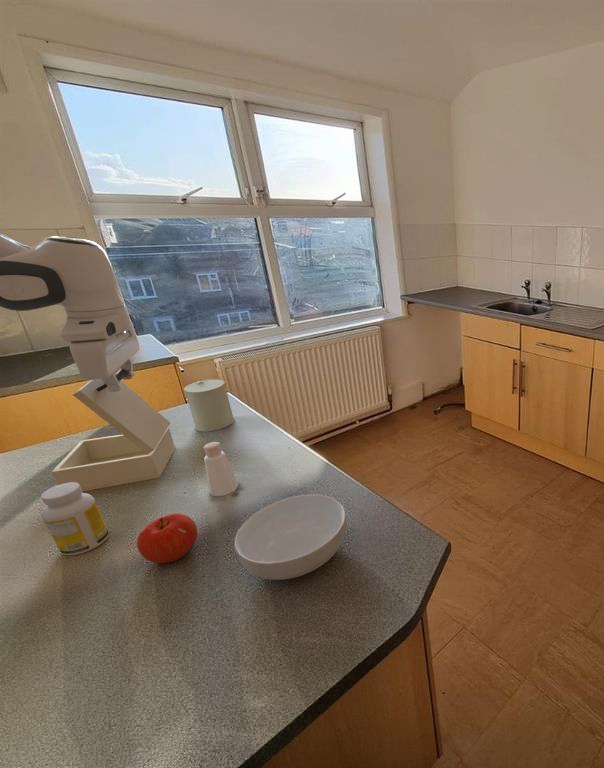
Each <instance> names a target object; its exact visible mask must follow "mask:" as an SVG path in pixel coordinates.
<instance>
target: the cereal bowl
mask: <svg viewBox="0 0 604 768" xmlns="http://www.w3.org/2000/svg"><path fill="white" fill-rule="evenodd" d="M347 522H348V521H347V514H346V509H345V507H344V506H343V505H342V503H341V502H339V501H338V500H337V499H335V498H333V497H330V496H328V495H323V494H302V495H295V496H290V497H286V498H283V499H281V500H277V501H275V502H273V503H271V504H269V505H266V506H265V507H263V508H260V509H259V510H258V511H256V512H255V513H254V514H252V515H251V516H250V517H248V519H246V521H245V522H243V524H242V525H241V526H240V528H239V529H238V530H237V532H236V535H235V539H234V550H235V553H236V556H237V559H238V560H239V563H240V564H241V566H242V567H243V568H244V569H245V570H246V571H247V572H248V573H250V574H251V575H254V576H255V577H258V578H261V579H264V580H271V581H284V580H291V579H295V578H299V577H302V576H304V575H307V574H310V573H312V572H313V571H315V570H317V569H319V568H320V567H321V566H324V564H326V563H327V562H328V561H330V560H331V558H333V557H334V555H336V553H337V552H338V550H339V549H340V547H341V545H342V544H343V542H344V539H345V536H346V533H347V532H346V531H347V526H348V525H347Z"/></svg>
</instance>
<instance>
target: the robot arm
mask: <svg viewBox="0 0 604 768" xmlns="http://www.w3.org/2000/svg"><path fill="white" fill-rule="evenodd" d="M111 263H112V262H111V261H110V259H109V257H108V255H107V253H106V251H105V249H103V247H102V246H101V245H100V244H98V243H97V242H95V241H92V240H89V239H86V238H81V237H75V236H74V237H73V236H61V235H60V236H58V235H57V236H56V235H54V236H48V237H45V238H44V239H43V240H42V241H41V242H38V244H36V245H33V246H29V245H26V244H23V243H21V242H19V241H16V240H14V239H12V238H10V237H9V236H7V235H5V234H2V233H1V232H0V308H3V309H6V310H10V311H16V312H32V311H37V310H41V309H43V308H48V307H51V306H62V307H63V308H64V311H65V314H66V316H67V317H65V318H66V319H65V323H64V326H63V327H62V329H61V331H60V334H61V337H62V340H63V342H66V343H69V351H70V353H71V356H72V358H73V361H74V363H75V366H76V368H77V369H78V371H79V373H80V375H81V376H82V377H83V378H84V379H85V380H87V381H89V380H96V379H101V380H102V381H103V382H104V383H105V384H106V385H107V387H108V389H109V391H110V392H118V391H120V390H121V389H122V385H121V382H120V381H118V380H117V378H116V372H117V371H118V370H120V369H125V370H126V371H127V375H126V376H125V377H124V378H123V379H122V380H125V381H126V380H131V379H133V378H134V377H135V373H134V369H133V365H134V363H133V362H134V361H133V358H132V357H134V356H135V354H137V353H138V352H139V351H140V342H139V339H138V337H137V333H136V331H135V329H134V328H133V325H132V323H131V320H130V317H129V313H128V311H127V307H126V305H125V301H124V299H122V297H121V296H120V294H119V290H118V285H119V283H118V280H117V277H116V273H115V270H114V268H113V265H112V264H111Z"/></svg>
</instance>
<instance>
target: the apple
mask: <svg viewBox="0 0 604 768" xmlns="http://www.w3.org/2000/svg"><path fill="white" fill-rule="evenodd" d="M197 538H198V527H197V525H196V522H195V521H194V520H193V519H192V518H191V517H190V516H189V515H186V514H182V513H172V514H168V515H164V516H162V517H159V518H157V519H155V520H153V521H152V522H151V523H149V524H147V525H146V526H145V527H144V528H143V529H142V530H141V531H140V532H139V534H138V536H137V540H136V546H137V551H138V552H139V554H140V555H141V556H142V557H143V558H144V559H145V560H147V561H149V562H152V563H154V564H155V563H156V564H166V563H167V564H168V563H173V562H175V561H177V560H179V559H181V558H182V557H183V556H185V555H186V554H187V553H189V551H190V550H192V549H193V547H194V545H195V544H196V542H197Z"/></svg>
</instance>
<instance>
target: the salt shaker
mask: <svg viewBox="0 0 604 768" xmlns="http://www.w3.org/2000/svg"><path fill="white" fill-rule="evenodd" d="M203 450H204V452H205V456H204V457H203V461H204V468H205V474H206V480H207V486H208V492H209V493H210V495H211V496H212V497H225V496H227V495H229V494H233V493H234V492H235V491H236V490H237V488H239V487H240V485H239V482H238V481H237V478H236V475H235V473H234V471H233V469H232V466H231V464H230V462H229V459H228V457H227V454H226V453H225V451H223V450H222V448H221V443H220V442H218V441H212V442H208V443H206V444H205V445H204V446H203Z"/></svg>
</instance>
